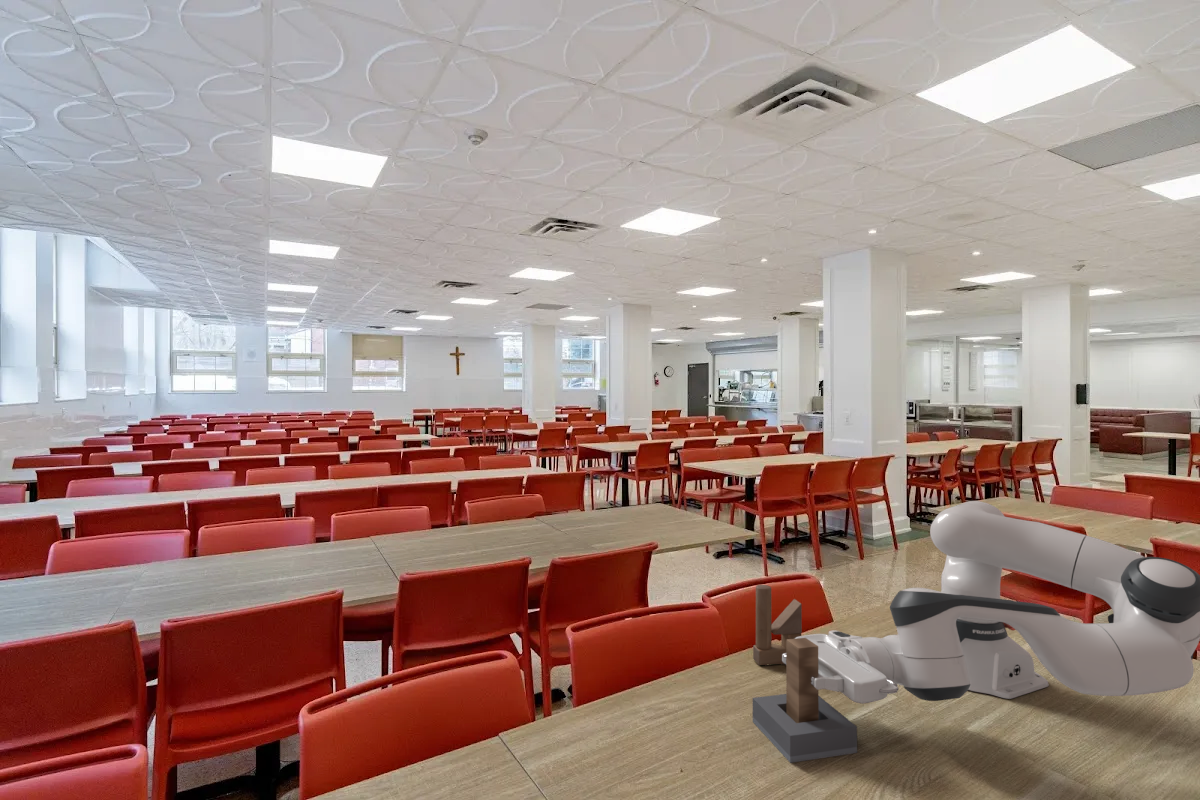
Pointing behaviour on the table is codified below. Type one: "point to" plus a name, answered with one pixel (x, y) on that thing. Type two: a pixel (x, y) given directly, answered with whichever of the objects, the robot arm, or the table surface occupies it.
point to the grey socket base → (804, 730)
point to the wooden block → (774, 627)
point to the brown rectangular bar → (801, 680)
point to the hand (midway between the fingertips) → (797, 670)
